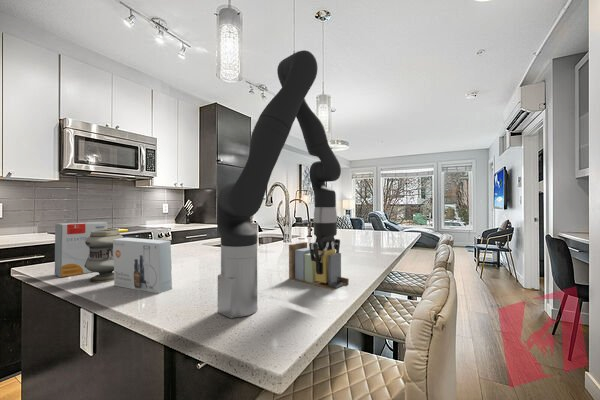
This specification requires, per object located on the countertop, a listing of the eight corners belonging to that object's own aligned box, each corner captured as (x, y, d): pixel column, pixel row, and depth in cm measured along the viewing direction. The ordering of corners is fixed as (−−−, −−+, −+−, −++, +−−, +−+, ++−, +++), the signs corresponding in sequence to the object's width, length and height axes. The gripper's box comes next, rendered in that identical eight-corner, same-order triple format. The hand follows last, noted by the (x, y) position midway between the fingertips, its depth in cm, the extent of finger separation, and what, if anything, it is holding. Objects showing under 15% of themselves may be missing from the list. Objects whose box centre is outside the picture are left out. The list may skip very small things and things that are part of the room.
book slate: (303, 280, 96) (303, 251, 96) (295, 278, 99) (294, 249, 99) (313, 277, 100) (313, 249, 100) (305, 275, 103) (305, 247, 103)
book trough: (333, 293, 86) (333, 251, 86) (289, 281, 99) (288, 244, 99) (348, 287, 92) (348, 247, 92) (305, 277, 105) (304, 242, 105)
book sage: (312, 282, 94) (312, 255, 94) (304, 280, 96) (304, 254, 96) (322, 279, 98) (322, 253, 98) (314, 277, 100) (314, 252, 100)
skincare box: (112, 286, 95) (111, 239, 95) (127, 282, 100) (127, 237, 100) (158, 294, 87) (158, 242, 87) (172, 289, 92) (172, 240, 92)
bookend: (335, 288, 87) (335, 256, 87) (328, 286, 89) (328, 255, 89) (345, 284, 91) (345, 253, 91) (338, 283, 93) (338, 252, 93)
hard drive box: (59, 278, 105) (59, 224, 105) (54, 275, 110) (53, 223, 110) (107, 270, 117) (107, 221, 117) (100, 267, 122) (100, 221, 122)
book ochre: (325, 282, 90) (325, 251, 90) (315, 280, 93) (315, 250, 93) (335, 279, 94) (335, 249, 94) (325, 277, 97) (325, 247, 97)
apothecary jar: (76, 282, 100) (76, 231, 100) (106, 273, 112) (106, 227, 112) (104, 284, 97) (104, 231, 97) (132, 275, 109) (132, 228, 109)
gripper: (320, 222, 86) (320, 279, 86) (346, 220, 96) (347, 270, 96) (302, 221, 91) (302, 274, 91) (329, 219, 101) (329, 266, 101)
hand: (325, 272), depth 93 cm, fingers closed on book ochre, 5 cm apart
